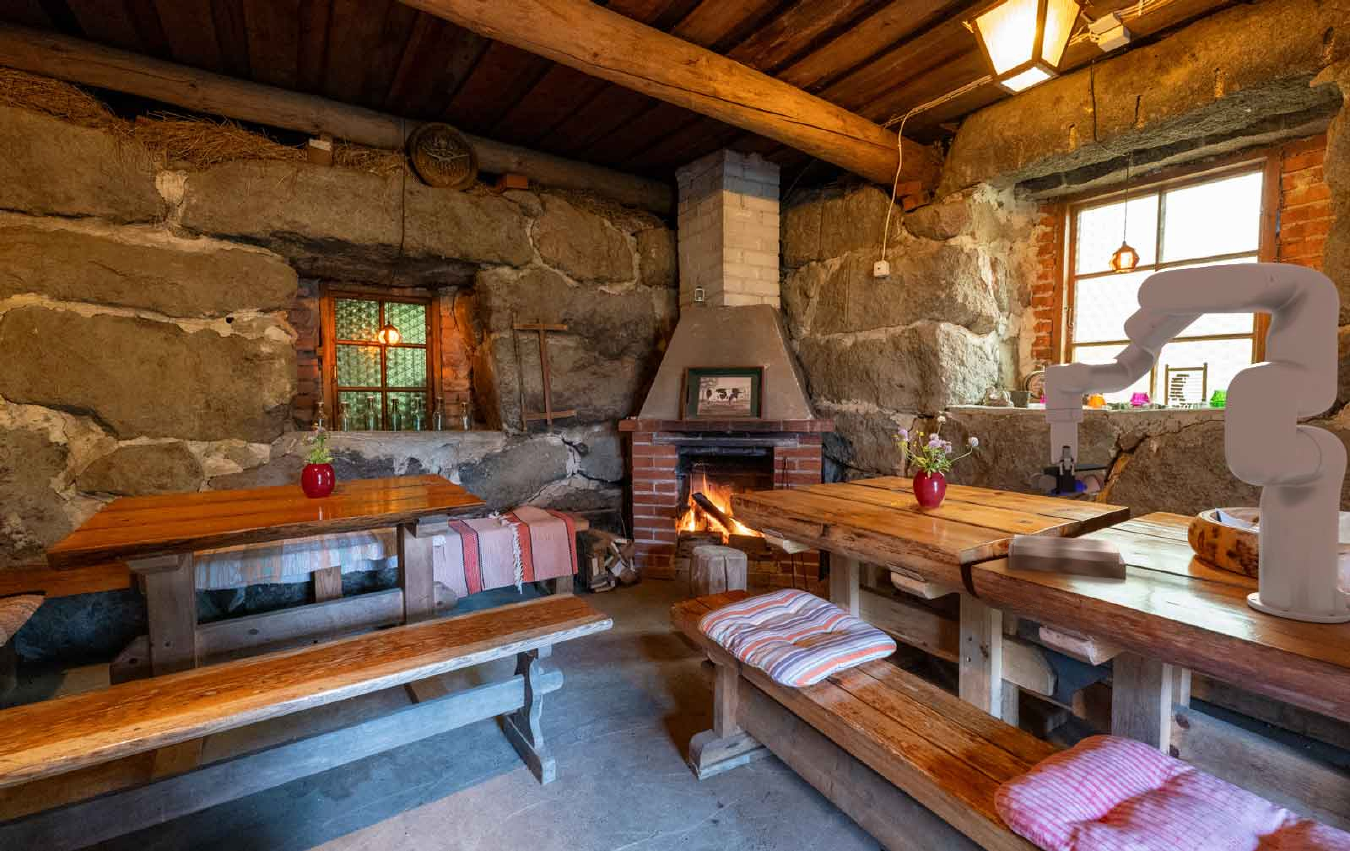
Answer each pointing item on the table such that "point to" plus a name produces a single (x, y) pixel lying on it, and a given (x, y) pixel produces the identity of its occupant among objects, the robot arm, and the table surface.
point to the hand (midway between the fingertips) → (1066, 489)
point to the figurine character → (1087, 483)
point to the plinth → (1067, 565)
